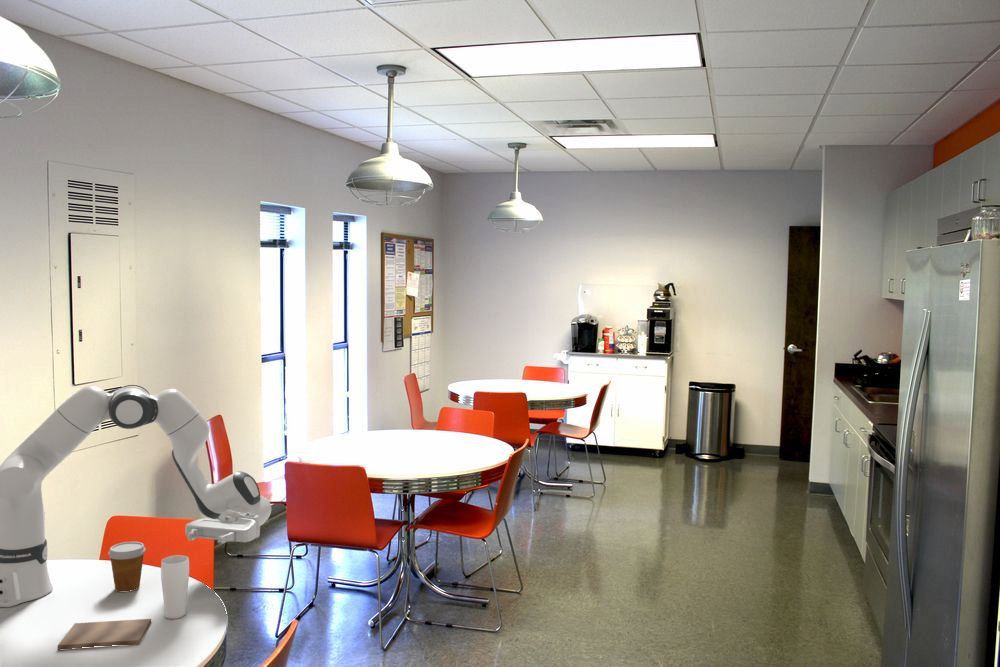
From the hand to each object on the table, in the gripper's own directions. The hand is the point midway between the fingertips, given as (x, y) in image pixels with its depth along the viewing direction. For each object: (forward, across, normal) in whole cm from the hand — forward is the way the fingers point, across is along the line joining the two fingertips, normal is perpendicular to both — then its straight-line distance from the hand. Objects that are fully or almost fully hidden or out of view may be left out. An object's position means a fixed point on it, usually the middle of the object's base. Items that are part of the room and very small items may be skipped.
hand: (204, 539), depth 214 cm
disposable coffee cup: (+1, -25, +16) cm, 30 cm away
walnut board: (+27, -9, +16) cm, 33 cm away
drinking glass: (+12, 0, +17) cm, 21 cm away
